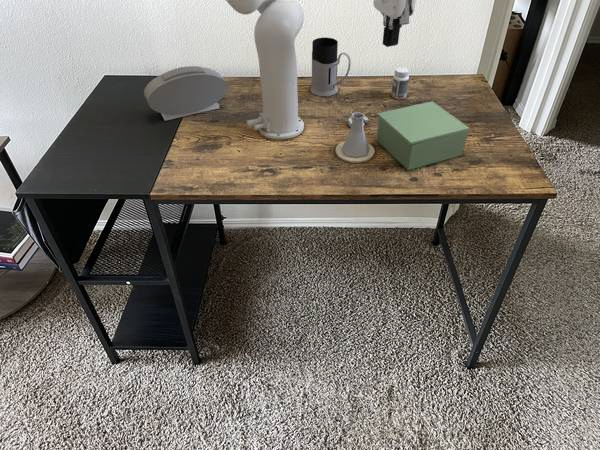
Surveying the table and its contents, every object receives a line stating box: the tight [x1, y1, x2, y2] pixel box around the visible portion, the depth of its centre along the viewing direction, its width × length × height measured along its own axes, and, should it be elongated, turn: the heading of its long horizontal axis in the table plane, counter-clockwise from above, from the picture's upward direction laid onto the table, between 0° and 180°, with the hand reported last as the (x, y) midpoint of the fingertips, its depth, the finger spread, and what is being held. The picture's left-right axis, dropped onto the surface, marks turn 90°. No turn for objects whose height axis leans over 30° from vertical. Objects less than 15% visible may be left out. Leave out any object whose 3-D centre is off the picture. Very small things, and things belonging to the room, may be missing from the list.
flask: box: [342, 111, 369, 157], centre depth 113 cm, size 7×7×10 cm
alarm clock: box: [143, 65, 229, 121], centre depth 131 cm, size 23×6×13 cm, turn 115°
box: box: [376, 117, 469, 171], centre depth 116 cm, size 16×15×7 cm
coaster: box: [335, 140, 376, 164], centre depth 117 cm, size 10×10×1 cm
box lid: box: [376, 100, 470, 145], centre depth 113 cm, size 17×15×1 cm
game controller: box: [339, 109, 369, 129], centre depth 128 cm, size 6×12×3 cm, turn 49°
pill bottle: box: [390, 66, 410, 100], centre depth 137 cm, size 5×5×8 cm
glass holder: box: [310, 36, 352, 97], centre depth 137 cm, size 9×14×15 cm, turn 46°
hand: (390, 44), depth 105 cm, fingers closed
